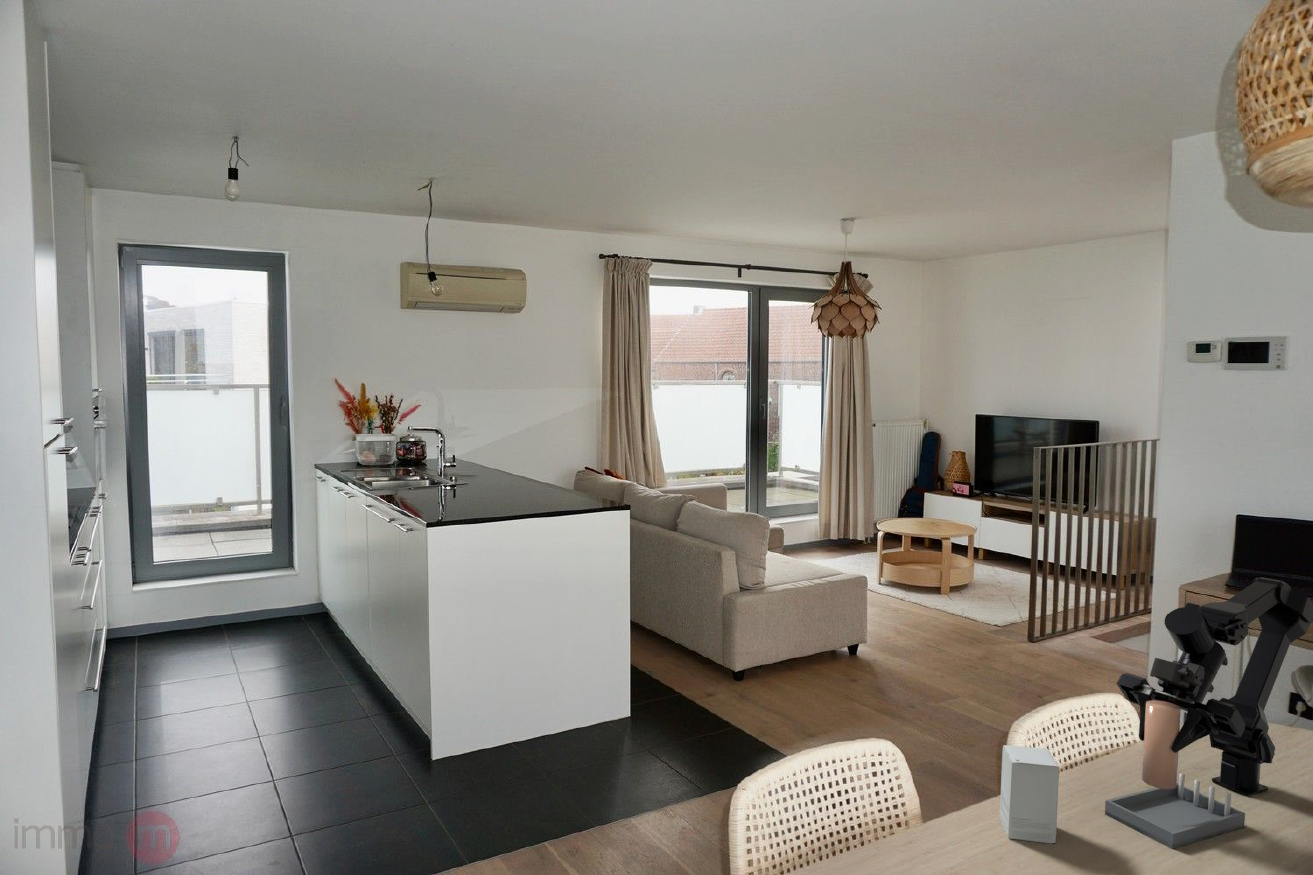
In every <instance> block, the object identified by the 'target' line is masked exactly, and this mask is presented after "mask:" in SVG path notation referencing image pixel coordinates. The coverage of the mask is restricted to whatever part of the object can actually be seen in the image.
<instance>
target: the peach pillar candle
mask: <svg viewBox="0 0 1313 875" xmlns="http://www.w3.org/2000/svg"><path fill="white" fill-rule="evenodd" d="M1181 711H1182V709H1181V708H1180V707H1179V706H1177V705H1175V704H1172V703H1169V702H1165V701H1157V700H1151V701H1147V702H1146V711H1145V730H1144V741H1143V749H1142V752H1143V754H1142V774H1141V780H1142V781H1143V783H1145V784H1146V785H1148V786H1150V787H1153V788H1156V787H1157V788H1161V789H1174V788H1176V787H1177V783H1178V769H1179V768H1178V767H1179V766H1178V765H1179V751H1178V752H1177V753H1174V752H1173V751H1172V750H1171V748H1172V745H1173V743H1174V740H1175V739H1176V737H1177V735H1178V733H1179V731H1180V730H1181V714H1182V713H1181Z"/></svg>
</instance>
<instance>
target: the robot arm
mask: <svg viewBox="0 0 1313 875" xmlns="http://www.w3.org/2000/svg"><path fill="white" fill-rule="evenodd" d="M1257 618H1258V622H1259V624H1260V628H1261V629H1260V632H1259V635H1258V637H1257V641H1256V642H1255V644H1254V648H1253V649H1252V652H1251V655H1250V657H1249V660H1248V662H1247V665H1246V667H1245V669H1244V672H1243V675H1242V677H1241V679H1240V682H1239V684H1238V686H1237V689H1236V691H1235V694H1234V695H1233V696H1231V697H1230V698H1226V697H1221V698H1220V699H1217V698H1216V699H1215V698H1210V699H1208V700H1207V701H1206V703H1203V701H1204V699H1205V698H1206V696H1207V694H1208V693H1211V694H1212V693H1213V692H1214V689H1215V687H1214V685H1213V682H1214V680H1215V678H1216V676H1217V674H1218V672H1219V670H1220V669H1221V666H1228V664H1229V662H1228V661H1229V660H1228V657H1227V653H1226V650H1225V649H1224V648H1223V646H1222V645H1221V644H1222V643H1223V644H1226V645H1230V646H1238V645H1239V644H1241V643H1242V641H1244V640H1245V639H1246V637H1247V636H1248V635H1249V624H1251V623H1252V622H1253V621H1255V620H1256V619H1257ZM1311 624H1313V601H1312V600H1311V599H1310V598H1309V597H1308V596H1307V595H1305V594H1303V593H1301V592H1299V591H1297V590H1296V589H1294V588H1293V587H1291V586H1290V585H1289V584H1288V583H1287V582H1284V581H1283V580H1278V579H1273V578H1267V577H1256V578H1254V579H1253V580H1252V582H1251V584H1250V585H1248V586H1247V587H1245V588H1244V589H1242V590H1241V591H1239V592H1238V593H1236V594H1234V595H1233V596H1232V597H1230V598H1228V599H1227V600H1225V601H1221V602H1219V601H1218V602H1209V603H1206V604H1203V605H1200V604H1196V603H1192V602H1186V603H1185V606H1183V607H1178V608H1175V609H1173V610H1171V611H1169V613H1166V616H1165V617H1164V626H1165V628H1166V629H1167V631H1168V633H1169V635H1170V636H1171V639H1172V640H1173V641H1174V643H1175V645H1176V647H1177V648H1178V649H1179V650H1180V651H1181V652H1182V654H1181V655H1180V657H1179V659H1178V661H1176V660H1173V661H1169V660H1166V659H1162V658H1158V657H1155V658H1154V661H1153V664H1152V668H1151V670H1150V674H1149V676H1150V677H1152V678H1156V679H1157V681H1156V682H1157V685H1158V686H1159V687H1160V688H1162V690H1159V689H1156V688H1154V687H1152V686H1151V685H1150V683H1149V681H1148V680H1147V678H1144V677H1142V676H1138V675H1135V674H1131V673H1128V672H1126V673H1122V674H1121V675H1120V676H1119V677H1118V679H1117V681H1116V682H1115V684H1116V685H1117V687H1118V688H1119V690H1120V691H1121V693H1122V694H1123V696H1124V697H1125V700H1127V701H1128V702H1130V703H1132V704H1135V705H1137V706H1139V713H1140V714H1139V729H1138V739H1139V740H1140V741H1142V742H1144V730H1145V711H1146V702H1147V701H1151V700H1157V701H1165V702H1169V703H1172V704H1175V705H1177V706H1179V707H1180V708H1181V711H1185V712H1186V719H1185V721H1184V723H1183V725H1182V727H1180V731H1179V733H1178V735H1177V737H1176V739H1175V740H1174V743H1173V745H1172V748H1171V750H1172V751H1173V752H1174V753H1177V752H1178V753H1179V752H1180V751H1182V750H1183V749H1185V748H1187V747H1188V746H1189V745H1191V744H1193V743H1195V742H1197V741H1198V740H1200V739H1203V738H1205V737H1207V736H1209V743H1210V747H1211V748H1213V749H1217V750H1220V751H1222V752H1221V761H1220V770H1219V771H1220V773H1219V774H1220V775H1219V776H1215V777H1213V778H1211V782H1213V783H1215V784H1218V785H1219V786H1222V787H1224V788H1227V789H1230V790H1232V791H1234V792H1236V793H1238V794H1241V795H1243V796H1251V795H1256V794H1259V793H1262V792H1266V791H1268V790H1269V786H1266V785H1264V784H1261V783H1260V779H1261V778H1260V777H1261V765H1262V764H1272V763H1273V759H1274V757H1275V753H1276V752H1275V751H1276V746H1275V744H1274V743H1273V741H1272V739H1271V737H1270V735H1269V734H1268V732H1269V729H1270V728H1269V724H1268V721H1267V716H1266V714H1265V708H1266V706H1267V704H1268V701H1269V699H1270V697H1271V693H1272V690H1273V688H1274V685H1275V683H1276V680H1277V679H1278V675H1279V672H1280V671H1281V667H1282V665H1283V663H1284V661H1285V658H1286V655H1287V653H1288V650H1289V648H1290V645H1291V644H1292V643H1293V642H1294V641H1296V640H1298V639H1300V638H1301V637H1303V636H1305V635H1306V634H1307V632H1308V630H1309V628H1310V626H1311ZM1220 643H1221V644H1220Z"/></svg>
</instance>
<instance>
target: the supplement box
mask: <svg viewBox="0 0 1313 875" xmlns="http://www.w3.org/2000/svg"><path fill="white" fill-rule="evenodd" d="M1001 754H1002V755H1001V756H1002V757H1001V775H1000V776H1001V778H1000V802H999V803H1000V805H999V819H1000V822H1001V824H1002V827H1003V829H1004V832H1005V833H1006V836H1007V838H1008V839H1010V840H1011V839H1012V840H1018V841H1019V840H1020V841H1027V842H1035V843H1045V844H1052V843H1055V844H1056V841H1057V840H1056V839H1057V823H1058V820H1057V819H1058V803H1059V783H1060V782H1059V781H1060V765H1059V764H1058V762H1057V761H1056V759H1055V757H1054V756H1053V755H1052V753H1051V752H1050V749H1048V748H1041V747H1030V746H1019V745H1016V746H1015V745H1005V744H1003V746H1002V753H1001Z"/></svg>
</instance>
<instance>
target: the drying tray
mask: <svg viewBox="0 0 1313 875" xmlns="http://www.w3.org/2000/svg"><path fill="white" fill-rule="evenodd" d="M1178 776H1179V778H1178V779H1179V780H1178V782H1177V787H1176V788H1174V789H1161V788H1157V787H1153V788H1149V789H1144V790H1142V791H1137V792H1133V793H1129V794H1126V795H1121V796H1117V797H1114V798H1109V799H1106V800H1105V802H1104V803H1105V805H1104V808H1105V809H1104V814H1105V816H1108V817H1110V818H1112V819H1114V820H1116V821H1118V822H1120V823H1122V824H1123V825H1126V826H1127V827H1129V828H1131V829H1133V830H1135V831H1137V832H1138V833H1141V834H1143V835H1144V836H1147V837H1148V838H1150V839H1153V840H1154V841H1156V842H1159V843H1160V844H1162V845H1164V846H1166V847H1168V848H1169V849H1172V850H1173V849H1176V848H1179V847H1183V846H1187V845H1190V844H1192V843H1196V842H1200V841H1202V840H1206V839H1209V838H1213V837H1217V836H1219V835H1223V834H1226V833H1230V832H1232V831H1233V832H1234V831H1236V830H1239V829H1244V828H1245V821H1246V813H1245V812H1244V811H1241V810H1239V809H1236V808H1234V807H1232V804H1231V803H1232V793H1229V792H1226V793H1225V795H1224V796H1225V798H1224V803H1223V802H1220V801H1219V800H1216V798H1215V796H1216V787H1215V786H1213V785H1209V787H1208V788H1209V790H1208V796H1207V795H1205V794H1202V793H1200V790H1201V789H1200V788H1201V781H1200V780H1199V779H1194V781H1193V782H1194V786H1193V789H1191V788H1189V787H1187V786H1185V777H1186V774H1184V773H1183V772H1182V773H1181V772H1180V773H1179V775H1178Z"/></svg>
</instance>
